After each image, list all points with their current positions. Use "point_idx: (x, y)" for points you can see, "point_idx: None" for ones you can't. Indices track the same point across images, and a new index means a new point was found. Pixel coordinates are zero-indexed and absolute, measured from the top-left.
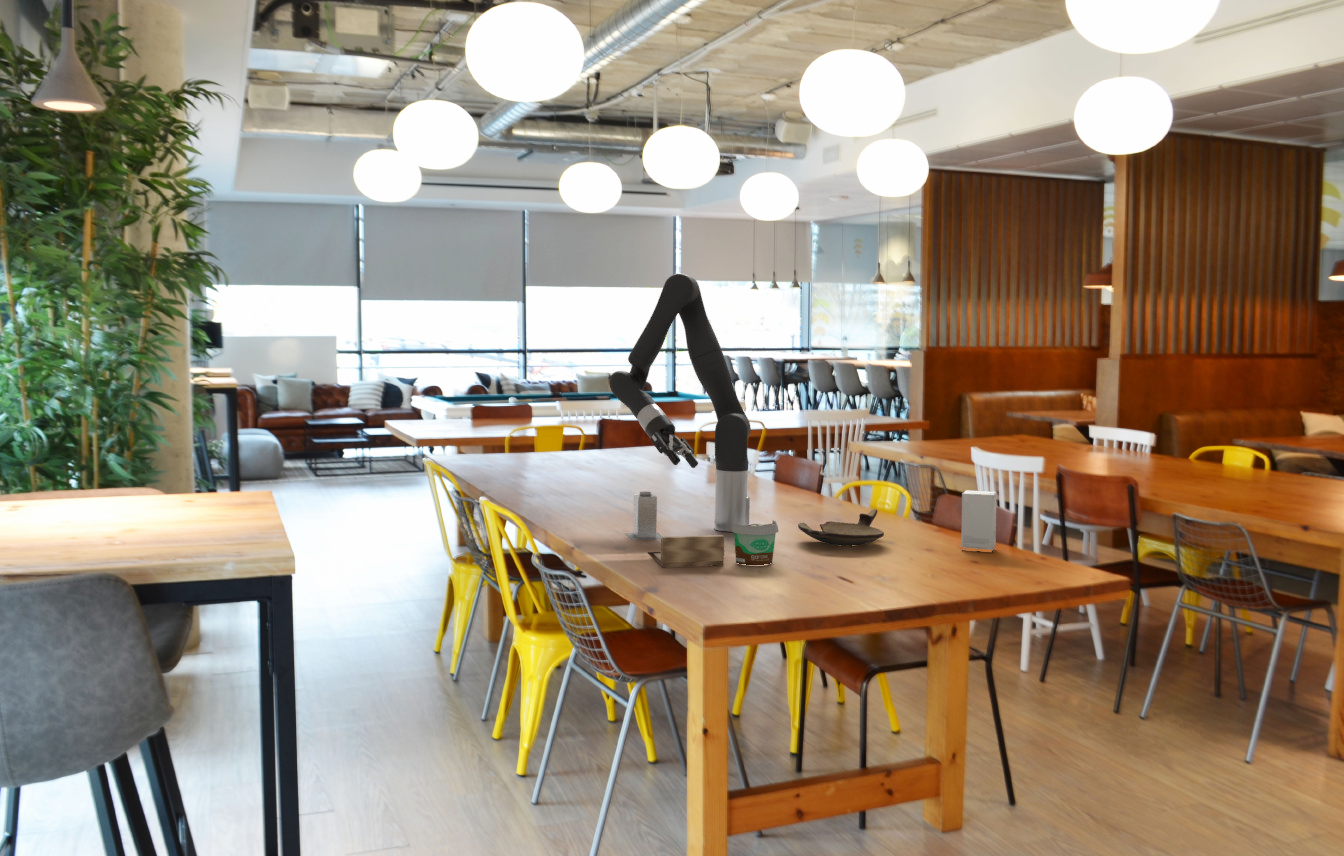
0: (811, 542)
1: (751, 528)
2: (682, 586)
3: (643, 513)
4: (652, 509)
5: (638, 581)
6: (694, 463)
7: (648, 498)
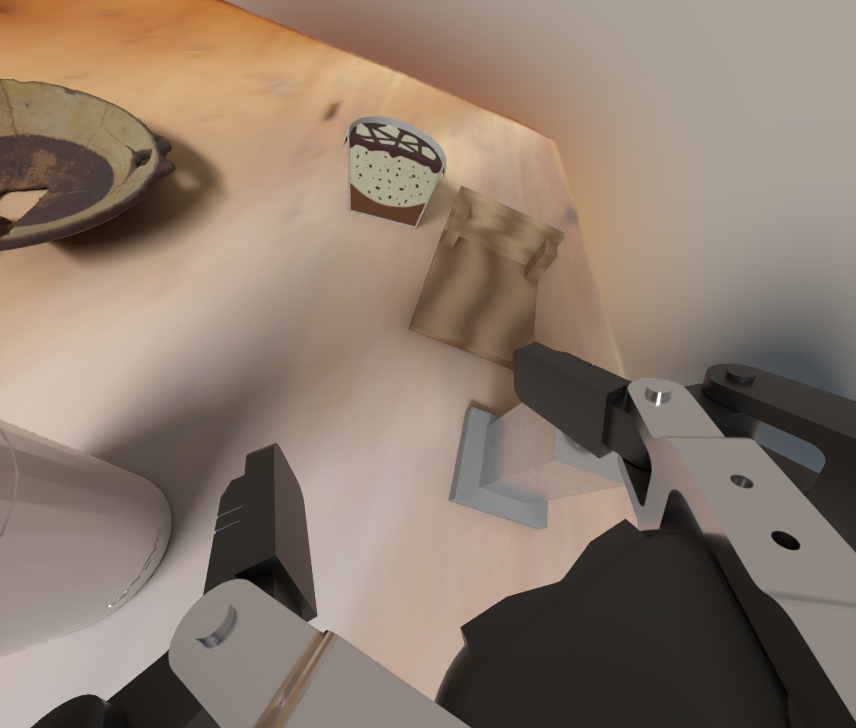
0: (77, 246)
1: (426, 139)
2: (537, 204)
3: None
4: None
5: (579, 243)
6: (284, 472)
7: None
